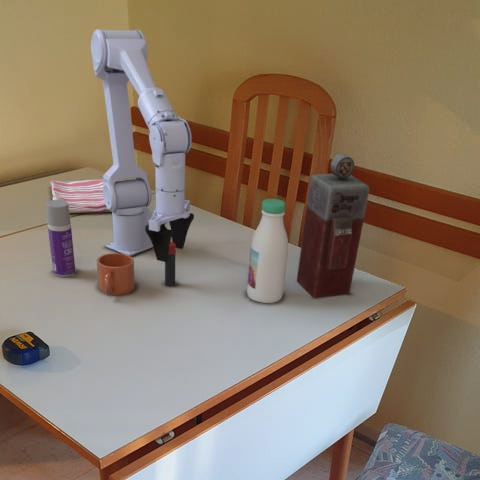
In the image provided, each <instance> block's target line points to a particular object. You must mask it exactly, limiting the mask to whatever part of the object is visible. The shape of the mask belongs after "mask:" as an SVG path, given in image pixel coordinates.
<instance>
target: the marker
mask: <svg viewBox="0 0 480 480" xmlns="http://www.w3.org/2000/svg"><path fill="white" fill-rule="evenodd" d="M176 252H177V248H176V244H175V243H173V242H172V241H170V245H169V254H168V259H167V261H166V262H164V285H165V286H166V287H175V286H176Z"/></svg>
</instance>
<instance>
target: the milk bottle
mask: <svg viewBox="0 0 480 480" xmlns="http://www.w3.org/2000/svg"><path fill="white" fill-rule="evenodd" d="M260 212H261V218H260V220H259V224H258V225H257V227H256V229H255V230H254V233H253V235H252V238H251V243H250V251H249V261H248V274H247V286H246V294H247V296H248V298H249V299H250V300H253V301H256V302H258V303H263V304H272V303H276V302H279V301H280V300H281V299H282V297H283V296H284V288H285V280H286V272H287V263H288V254H289V237H288V233H287V230H286V227H285V223H284V216H285V214H286V213H285V212H286V202H285V201H284V200H282V199H279V198H266V199H264V200H262V202H261V211H260Z"/></svg>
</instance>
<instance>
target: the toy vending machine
mask: <svg viewBox="0 0 480 480" xmlns="http://www.w3.org/2000/svg"><path fill="white" fill-rule="evenodd" d="M354 170H355V161H354V159H353V158H352V157H350V156H349V155H347V154H346V153H339V154H337V155H335V157H334V158H333V159H332V160H331V162H330V171H331V173H318V174H317V173H316V174H313V175H311V176H310V180H309V186H308V187H309V188H308V194H307V202H306V208H305V217H304V224H303V231H302V241H301V245H300V246H301V248H300V253H299V254H300V255H299V260H298V262H299V263H298V267H297V268H298V269H297V277H296V283H298V284H299V285H300V286H301V288H302V289H304V291H305V292H307V294H309V296H310V297H311V298H312V299H322V298H329V297H338V296H348V295H350V293H351V288H352V282H353V276H354V271H355V266H356V262H357V256H358V251H359V248H360V247H359V246H360V241H361V235H362V232H363V231H362V230H363V226H364V222H365V221H364V220H365V215H366V209H367V204H368V200H369V194H370V186H369V185H367V184H366V183H365V182H363V181H361V180H360V179H358V178H356V177H355V176H353V175H352V174H353V173H354Z"/></svg>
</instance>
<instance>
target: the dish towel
mask: <svg viewBox="0 0 480 480" xmlns="http://www.w3.org/2000/svg"><path fill="white" fill-rule="evenodd" d="M49 183H50V187H51V188H50V189H51V195H52V200H63V201H66V202H68V206H69V214H84V213H109V212H111V213H112V211H110V210H109V209H108V208H107V207H106V205H105V202H104V199H103V178H102V179H86V180H73V181H72V180H71V181H70V180H69V181H61V180H50V181H49Z"/></svg>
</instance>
